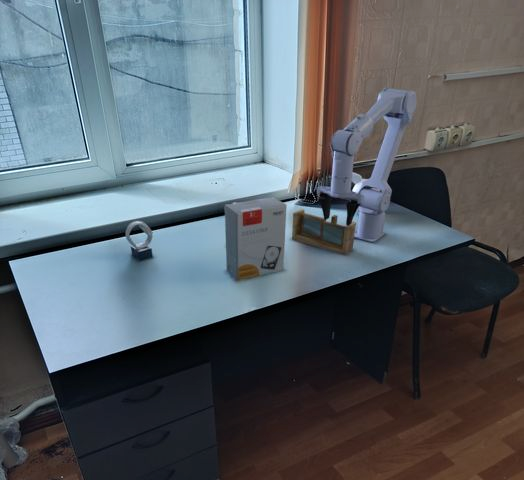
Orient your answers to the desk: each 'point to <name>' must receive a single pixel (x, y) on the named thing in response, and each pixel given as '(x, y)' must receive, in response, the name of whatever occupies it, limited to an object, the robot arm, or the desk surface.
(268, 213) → the hard drive box
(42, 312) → the desk surface
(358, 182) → the piggy bank
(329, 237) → the sash
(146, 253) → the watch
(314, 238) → the window frame
